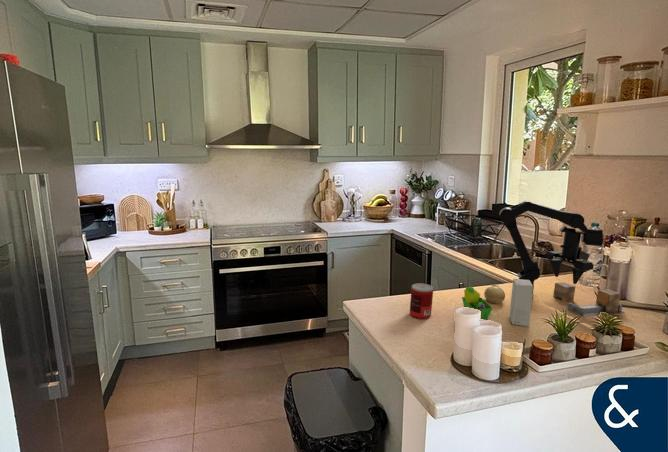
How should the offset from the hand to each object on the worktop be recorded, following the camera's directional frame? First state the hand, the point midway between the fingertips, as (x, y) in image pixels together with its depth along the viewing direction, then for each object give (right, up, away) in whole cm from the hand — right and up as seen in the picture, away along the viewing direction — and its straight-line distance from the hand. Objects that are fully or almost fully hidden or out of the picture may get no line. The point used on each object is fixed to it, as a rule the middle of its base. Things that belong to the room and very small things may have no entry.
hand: (565, 280), depth 168 cm
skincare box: (-29, -12, -21) cm, 38 cm away
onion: (-30, -9, -2) cm, 32 cm away
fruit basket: (-44, -11, -17) cm, 48 cm away
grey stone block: (0, -9, +2) cm, 9 cm away
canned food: (-64, -10, -19) cm, 68 cm away
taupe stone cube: (+11, -10, -9) cm, 17 cm away
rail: (+5, -11, -10) cm, 16 cm away
